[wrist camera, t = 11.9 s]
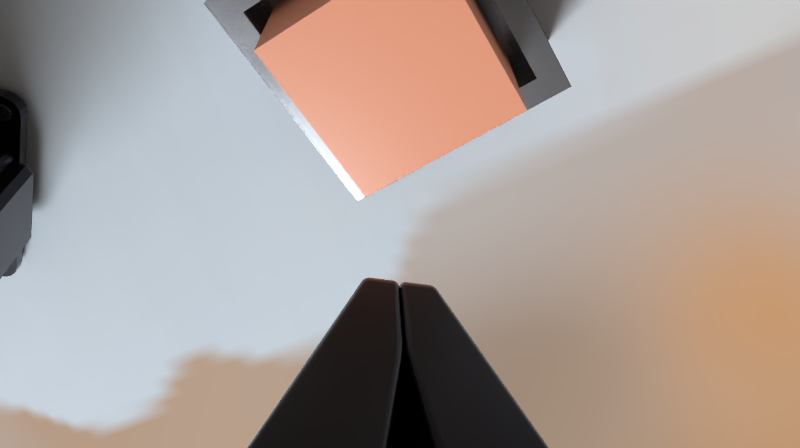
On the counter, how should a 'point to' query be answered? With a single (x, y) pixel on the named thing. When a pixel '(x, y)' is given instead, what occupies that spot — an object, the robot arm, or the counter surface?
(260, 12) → the button housing
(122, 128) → the counter surface
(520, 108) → the button
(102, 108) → the counter surface
